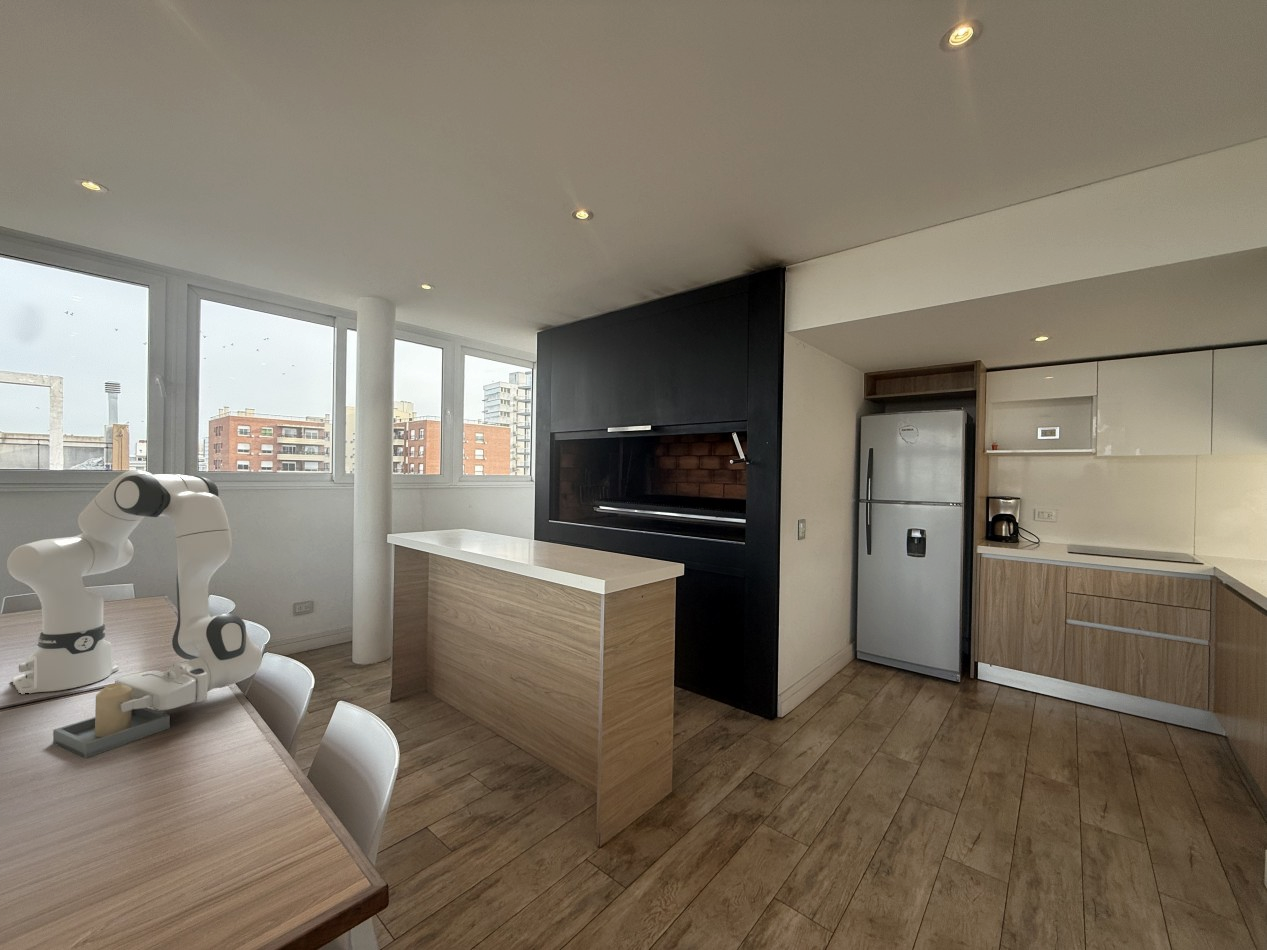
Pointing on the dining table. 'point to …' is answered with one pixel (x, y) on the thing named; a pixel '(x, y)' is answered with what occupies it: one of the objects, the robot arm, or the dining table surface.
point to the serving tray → (87, 744)
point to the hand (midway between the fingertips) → (108, 703)
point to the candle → (112, 710)
